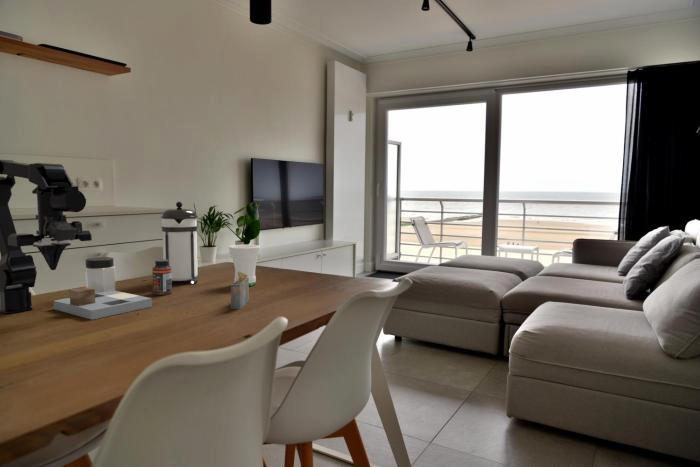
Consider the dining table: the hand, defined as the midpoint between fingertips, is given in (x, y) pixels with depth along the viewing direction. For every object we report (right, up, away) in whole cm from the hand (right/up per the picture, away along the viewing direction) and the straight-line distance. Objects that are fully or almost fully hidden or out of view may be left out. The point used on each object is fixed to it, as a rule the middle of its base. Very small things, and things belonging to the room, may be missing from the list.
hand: (53, 269), depth 131 cm
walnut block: (+4, -10, +7) cm, 13 cm away
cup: (+41, -9, +49) cm, 64 cm away
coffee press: (+15, -9, +54) cm, 56 cm away
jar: (-2, -11, +29) cm, 31 cm away
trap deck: (+7, -12, +12) cm, 19 cm away
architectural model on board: (+46, -13, +18) cm, 51 cm away
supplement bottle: (+17, -11, +32) cm, 38 cm away
